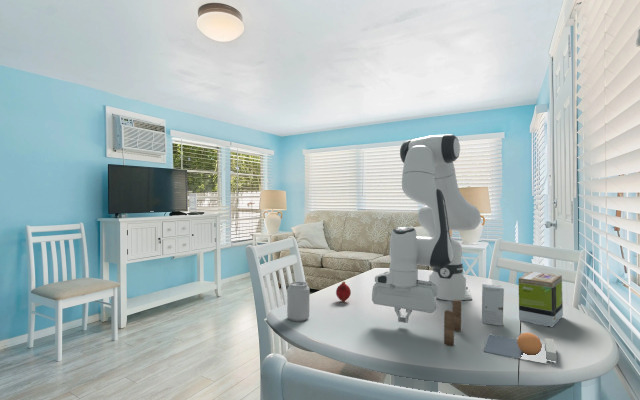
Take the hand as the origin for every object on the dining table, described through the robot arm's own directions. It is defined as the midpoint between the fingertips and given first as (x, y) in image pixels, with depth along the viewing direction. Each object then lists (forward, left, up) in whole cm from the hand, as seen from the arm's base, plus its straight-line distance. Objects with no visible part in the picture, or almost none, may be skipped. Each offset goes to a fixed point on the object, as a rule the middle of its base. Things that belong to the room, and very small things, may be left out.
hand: (403, 322), depth 111 cm
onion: (-15, -29, -2) cm, 33 cm away
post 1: (+6, +15, -2) cm, 16 cm away
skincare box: (-19, +24, -2) cm, 31 cm away
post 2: (-6, +15, -2) cm, 16 cm away
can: (+11, -33, -2) cm, 35 cm away
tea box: (-32, +38, -2) cm, 50 cm away
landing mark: (0, +31, -2) cm, 31 cm away
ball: (+2, +34, +1) cm, 34 cm away
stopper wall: (0, +39, -2) cm, 39 cm away
